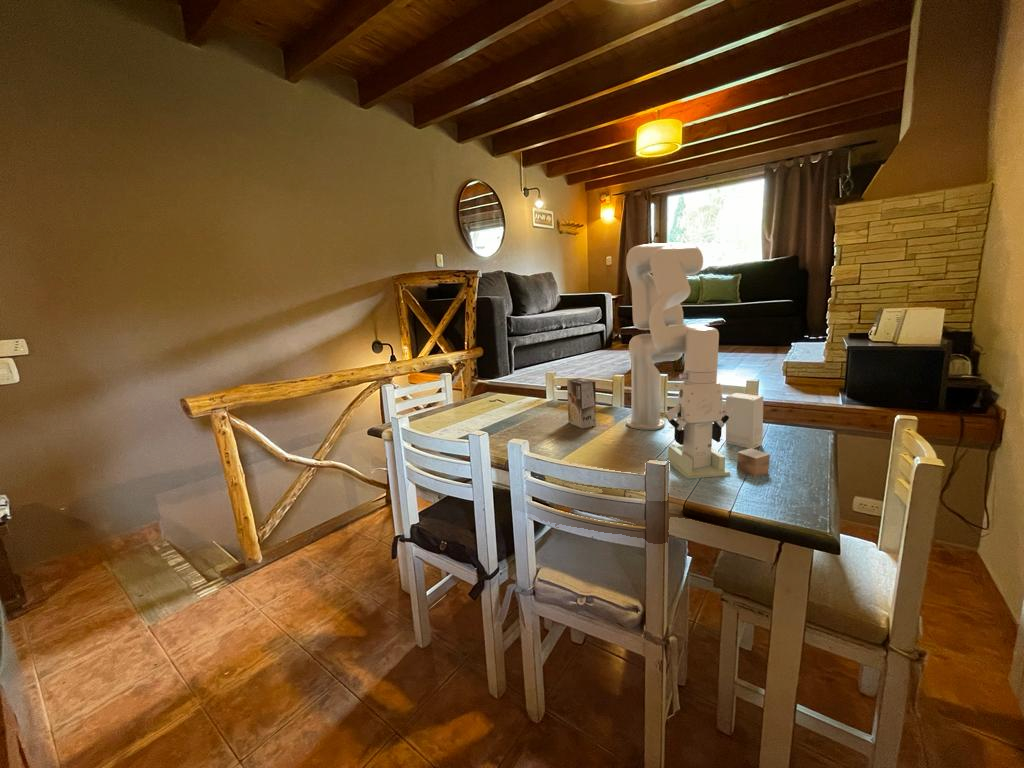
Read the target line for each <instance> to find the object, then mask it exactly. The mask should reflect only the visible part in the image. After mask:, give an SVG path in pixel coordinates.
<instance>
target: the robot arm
mask: <svg viewBox="0 0 1024 768" xmlns="http://www.w3.org/2000/svg"><path fill="white" fill-rule="evenodd" d="M703 256H704V255H703V253H702V251H701V249H700V248H699V247H698V246H696V245H694V244H690V243H689V244H688V243H683V242H667V243H665V242H664V243H647V244H639V245H635V246H633V247H631V248H630V249H629V250H628V252H627V255H626V259H625V261H626V262H625V264H626V265H625V266H626V272H627V277H628V278H629V279H628V280H629V283H630V286H631V287H630V288H631V302H632V305H631V306H632V308H631V309H632V323H633V326H634V327H635V328H636V329H638V330H643V331H645V330H646V331H647V330H649V331H650V333H641V334H638V335H634V336H633V337H632V338H631V339H630V340H629V344H628V353H629V358H630V367H631V369H630V370H631V402H630V404H631V406H630V407H631V413H630V414H631V416H630V418H628V419H627V420H626V425H627V426H628V427H629V428H631V429H635V430H639V431H640V430H641V431H654V430H660V429H662V428H664V427H665V426H666V423H665V421H664V420H663V419H661V394H662V393H661V391H662V389H661V387H662V385H661V384H662V383H661V382H662V380H661V378H662V377H661V373H660V371H659V369H658V368H657V367H656V366H655V363H657V362H659V363H660V362H672V361H679V359H681V357H682V356H683V354H684V368H683V369H684V370H683V372H682V373H679V375H678V378H679V380H683V381H681V382H680V386H679V391H678V396H677V405H676V406H674V407H672V408H671V409H668V410H667V411H665V413H664V415H665V418H666V419H667V422H668V423H669V424H670V425H671V426H672V427H673V428H674V441H675V442H676V443H678V445H683V444H684V430H683V427H684V426H685V425H686V423H690V424H692V423H706V422H713V424H712V441H716V442H717V443H721V437H722V428H723V427H725V424H726V421H727V420H728V419H729V416H730V414H731V413H732V411H733V409H732V408H729V407H727V406H726V404H723V392H722V387H721V382H719V381H718V379H717V378H718V363H719V361H718V360H719V342H720V341H719V340H720V332H719V330H718V329H717V328H715V327H710V326H706V325H704V324H699V323H696V324H694V323H693V324H685V323H684V310H683V307H682V304H681V303H683V302H684V301H685V300H686V299H688V298H689V297H690V294H691V286H690V284H689V280H688V276H696V275H697V274H699V273H700V272H701V271H702V268H703V265H704V257H703ZM675 415H676V416H677V418H676V420H675V418H674V416H675Z"/></svg>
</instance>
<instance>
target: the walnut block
mask: <svg viewBox="0 0 1024 768" xmlns="http://www.w3.org/2000/svg"><path fill="white" fill-rule="evenodd" d="M770 457H771V454H769V453H766V452H764V451H762V450H761V451H760V450H757V449H756V448H754V449H752V448H750V449H749V448H746V449H743V450H741V451H738V452H737V457H736V471H737V472H739V473H743V474H746V475H747V476H750V477H753V478H757V477H760V476H763V475H767V474H769V470H770V469H769V468H770Z"/></svg>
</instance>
